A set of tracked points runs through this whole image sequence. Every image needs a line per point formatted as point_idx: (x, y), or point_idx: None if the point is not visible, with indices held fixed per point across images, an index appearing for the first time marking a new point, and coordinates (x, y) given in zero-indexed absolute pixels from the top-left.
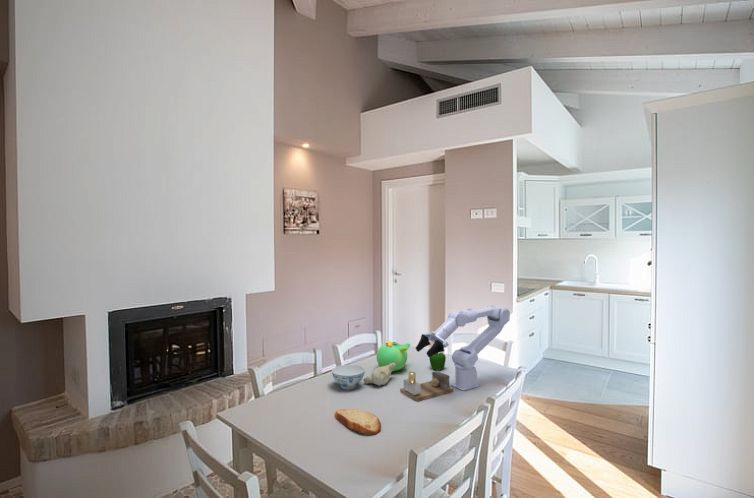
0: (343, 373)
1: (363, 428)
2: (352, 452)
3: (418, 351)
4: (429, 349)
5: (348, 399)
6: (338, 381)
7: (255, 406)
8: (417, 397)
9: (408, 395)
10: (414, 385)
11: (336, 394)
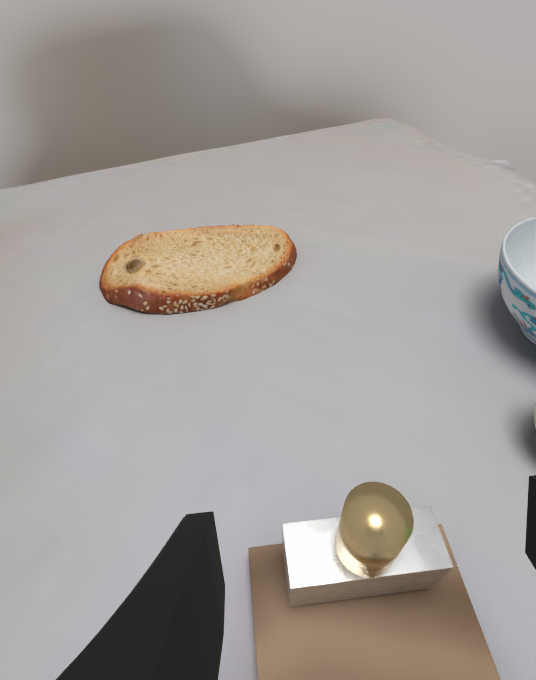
0: None
1: (119, 247)
2: (71, 229)
3: (530, 557)
4: (184, 564)
5: (401, 296)
6: (519, 256)
7: (416, 146)
8: (258, 557)
9: None
10: (289, 523)
11: (464, 278)
